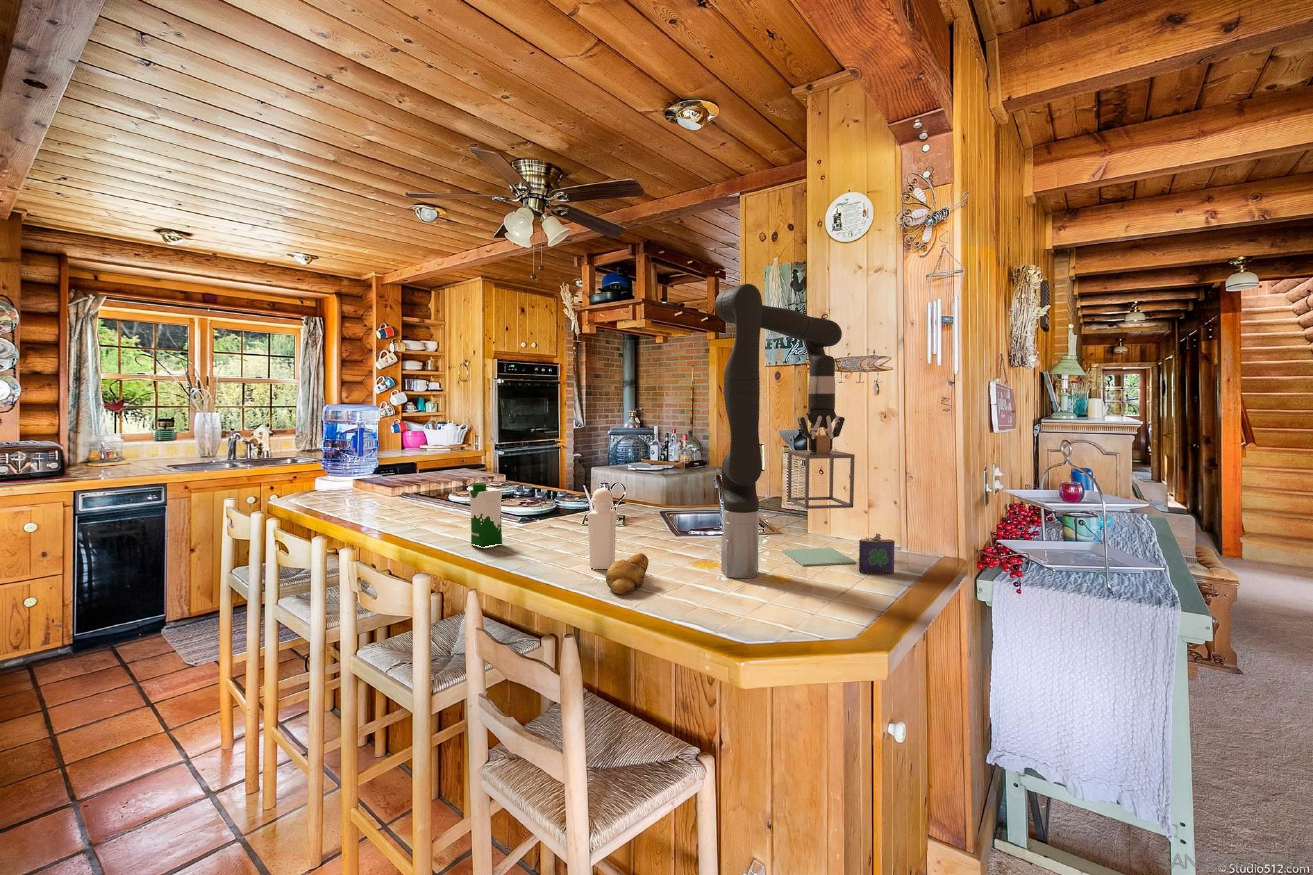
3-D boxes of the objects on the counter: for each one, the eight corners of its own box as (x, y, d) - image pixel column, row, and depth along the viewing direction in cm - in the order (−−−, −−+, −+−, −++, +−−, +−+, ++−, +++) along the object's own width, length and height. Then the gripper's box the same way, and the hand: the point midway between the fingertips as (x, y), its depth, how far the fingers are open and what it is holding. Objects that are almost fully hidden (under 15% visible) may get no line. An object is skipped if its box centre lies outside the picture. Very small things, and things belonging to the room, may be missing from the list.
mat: (802, 566, 164) (802, 564, 164) (782, 551, 179) (782, 549, 179) (856, 563, 166) (856, 561, 166) (831, 549, 182) (831, 547, 182)
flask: (892, 571, 159) (893, 532, 158) (896, 574, 156) (897, 534, 155) (857, 571, 159) (858, 532, 158) (860, 574, 156) (861, 534, 155)
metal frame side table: (805, 508, 164) (807, 437, 162) (787, 500, 177) (788, 433, 176) (853, 507, 165) (855, 436, 164) (831, 499, 179) (833, 433, 178)
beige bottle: (616, 564, 166) (616, 486, 165) (611, 571, 160) (610, 490, 158) (594, 563, 167) (593, 486, 166) (587, 569, 161) (587, 489, 159)
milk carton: (467, 545, 187) (465, 483, 186) (492, 540, 194) (491, 480, 193) (481, 550, 181) (479, 486, 180) (506, 545, 188) (505, 483, 187)
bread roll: (634, 599, 138) (634, 565, 137) (595, 595, 140) (595, 562, 140) (651, 582, 150) (650, 551, 149) (615, 579, 153) (615, 548, 152)
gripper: (803, 392, 165) (801, 453, 166) (851, 392, 167) (849, 452, 168) (793, 392, 172) (792, 451, 173) (839, 392, 174) (837, 450, 175)
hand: (820, 451), depth 170 cm, fingers closed on metal frame side table, 4 cm apart
